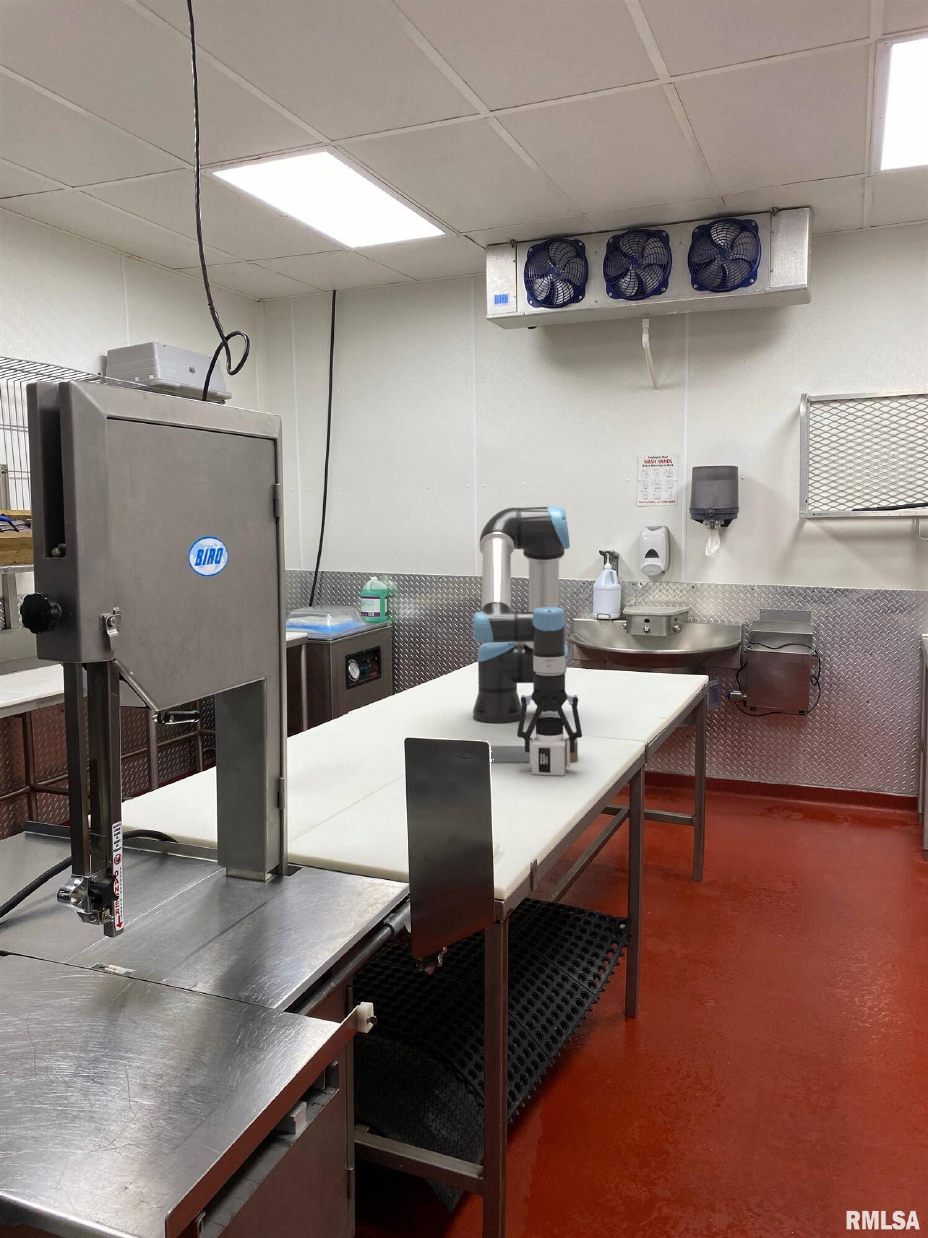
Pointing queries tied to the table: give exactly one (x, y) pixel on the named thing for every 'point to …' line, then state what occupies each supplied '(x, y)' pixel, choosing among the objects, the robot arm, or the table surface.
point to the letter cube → (574, 755)
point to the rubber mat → (509, 754)
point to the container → (549, 747)
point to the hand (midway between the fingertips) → (549, 765)
